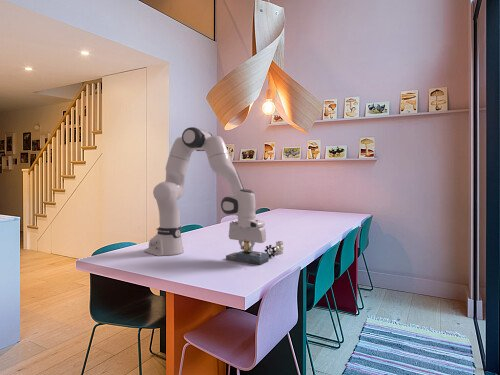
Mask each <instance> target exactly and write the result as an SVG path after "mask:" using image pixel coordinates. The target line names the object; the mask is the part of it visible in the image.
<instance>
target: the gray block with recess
mask: <svg viewBox="0 0 500 375" xmlns="http://www.w3.org/2000/svg"><path fill="white" fill-rule="evenodd" d="M268 253H269V252H268ZM268 253H267V252H261V251H254V250H252V251H250V253H249V254H246V253H244V250H240V251H238V252H233V253H229V254H227V255H225V260H227V261H233V262H239V263H245V264H251V265H257V266H262V265H264V264H266V263H268V262H269V255H268Z"/></svg>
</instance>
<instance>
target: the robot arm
mask: <svg viewBox="0 0 500 375" xmlns="http://www.w3.org/2000/svg"><path fill="white" fill-rule="evenodd" d="M194 151H196V152H205V153H206V156H207V160H208V164H209V166H210V169H211V170H212V171H213V172H214V173H215V174H217V175H218V176H221V177H223V178H224V179H226V180H227V181H228V183H229V185H230V189H231V191H232V194H231V195H227V196H225V197H223V198H222V199H221V202H220V210H222V212H223V213H224V214H225V215H228V216H229V215H231V216H232V215H237V220H235V221H234V220H232V221H230V222H229V229H228V238H229V239H230V240H233V241H234V240H235V241H238V244H239V246H240V250H241V251H243V250H244V239H246V241H248V242H250V247H249V251H254V247H255V244H256V243H258V244H263V243H265V242H266V240H267V234H266V233H267V232H266V228H265V221H263V220H260V219H259V218H257V217H256V216H257V215H256V212H255V211H256V208H257V206H256V196H255V192H254V191H252V189H245V188H244V186H243V184H242V181H241V178H240V175H239V173H238V171H237V169H236V167H235V166H234V164H233V162H232V158H231V156H230V153H229V150H228V148H227V145H226V143H225V141H224V139H223V137H221V136H220V135H212V133H211V132H209V131H207V130H205V129H202V128H197V127H195V126H193V127H192V126H191V127H187V128H185V129H184V130H183V132H182V134H181V136H180V137H177V138H176V139H175V140H174V142H173V144H172V146H171V148H170V151H169V154H168V158H167V161H166V165H165V181H161V182H159V183H158V184H156V185H155V186H154V188H153V193H152V194H153V198H154V199H155V201H156V204H157V207H158V213H159V214H158V215H159V227H156V228H155V229H156V231H157V233H156V234H155V235H154V236H153V237H152V238H151V239H149V241H148V248H145V249H144V250H143V251H144V253H148V254H151V255H154V256H157V257H159V256H160V257H162V256H174V255H179V254H182V253H184V252H185V251H184V246H183V239H182V235H181V233H182V226H181V210H179V207H178V200H179V199H180V198H182V197H183V195H184V193H185V178H186V173H187V170H188V166H189V162H190V159H191V156H192V154H193V152H194Z"/></svg>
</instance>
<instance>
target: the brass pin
mask: <svg viewBox="0 0 500 375" xmlns="http://www.w3.org/2000/svg"><path fill="white" fill-rule="evenodd" d="M243 245H244V253H246V254H249V253H250V251H249V247H250V246H251V244H250V242H248V241H246V239H244V241H243Z"/></svg>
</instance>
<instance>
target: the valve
mask: <svg viewBox="0 0 500 375" xmlns="http://www.w3.org/2000/svg"><path fill="white" fill-rule="evenodd" d="M264 253H268V259H269V258H270V259H271V258H272V257H273V258H274V257H275V256H276V255H280V254H281V255H283V254H284V241H282V240H278V241H275V246H272V244H269V245H266V246H265V249H264Z"/></svg>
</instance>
